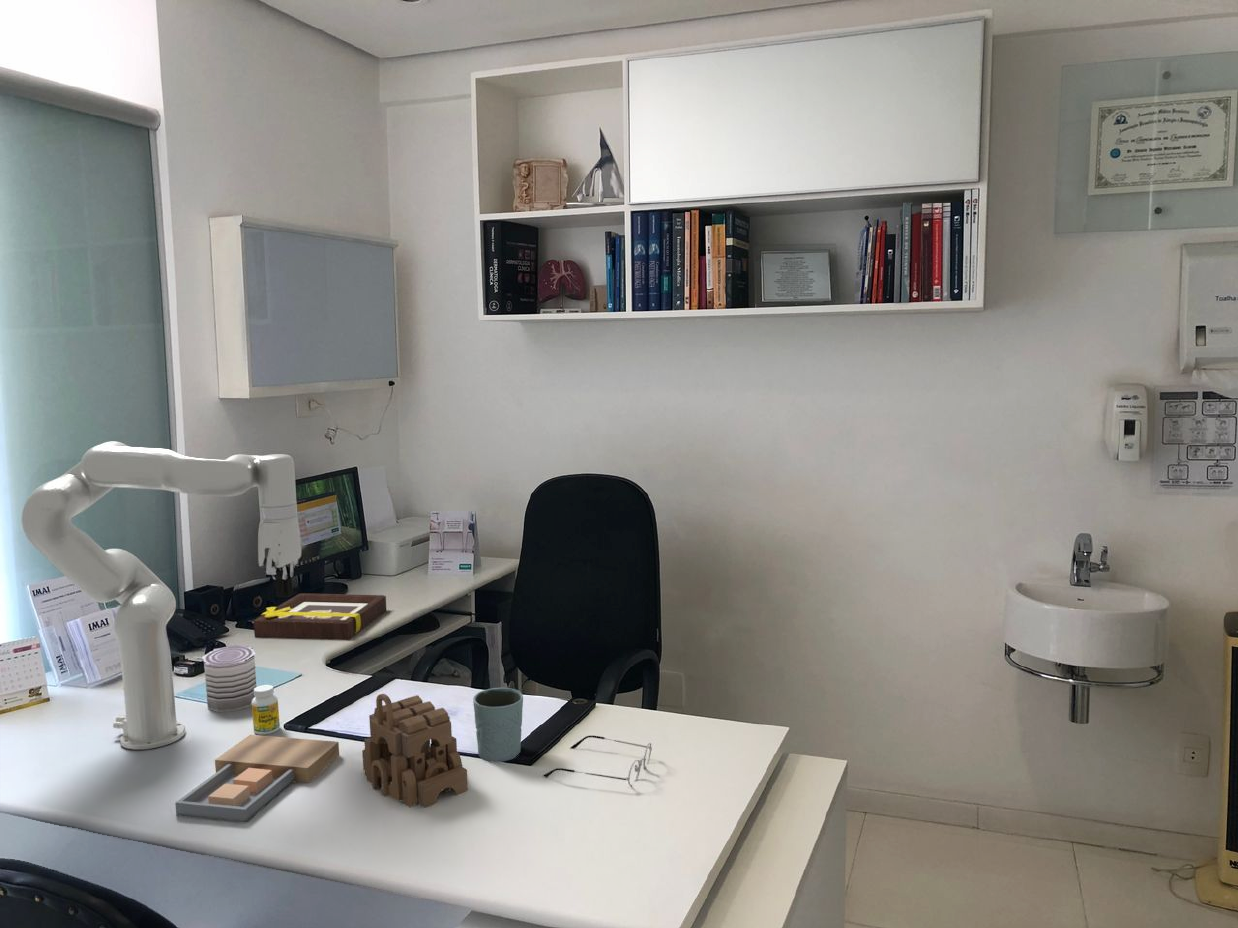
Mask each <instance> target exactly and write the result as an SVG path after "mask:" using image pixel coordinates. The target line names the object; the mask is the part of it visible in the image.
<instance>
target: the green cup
mask: <svg viewBox="0 0 1238 928" xmlns="http://www.w3.org/2000/svg"><path fill="white" fill-rule="evenodd" d="M472 699H473V709H474V711H473V712H474V724H475V729H476V731H475V733H476V741H477V753H478V756H479V758H480V759H481V760H484V761H487V762H491V763H492V762H493V763H496V762H498V763H499V762H507V761H510V760H513V759H515V758H517V757H518V756H519V755H520V754H519V753H521V745H522V743H521V742H522V725H523V706H524V704H523V703H524V695H523V693H522V692H521V691H520V690H518V689H515V688H509V687H493V688H488V689H484V690H482V691H479V692H477V693H476V694H474V696H473V698H472ZM518 754H519V755H518ZM517 755H518V756H517ZM516 756H517V757H516Z"/></svg>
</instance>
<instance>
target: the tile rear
mask: <svg viewBox="0 0 1238 928" xmlns="http://www.w3.org/2000/svg"><path fill="white" fill-rule="evenodd" d="M272 781H273V777H272V770H266V769H256V768H248V769H247V770H245V771H244V772H242V773H241V774H240V775H238V776H237V777H236V778H234V779H233V784H235V785H245V786H249V792H252V793H258V792H259V791H261V790H262V789H263V788H264V787H266V786H267V785H268V784H270V783H271V782H272Z"/></svg>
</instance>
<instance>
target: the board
mask: <svg viewBox="0 0 1238 928" xmlns="http://www.w3.org/2000/svg"><path fill="white" fill-rule="evenodd" d="M339 757H340V744H339V741H334V740H321V739H311V738H310V739H307V738H297V737H296V738H295V737H283V736H281V737H280V736H271V735H260V734H257V735H256V734H249V735H247V736H246V737H245V738H243V740H241V741H239V742H238V743H236V744H235V745H234V746H232V747H231V748H229V749H227V751H225V752H224V753H222V754H221V755H219V756H218V757H217V758H215V759H214V765H215V766H214V767H215V773H216V772H218V771H219V770H221V769H222V768H223V767H225V766H226V765H227V764H232V766H233V774H241V773H242V772H244V771H245V770H247V769H248V768H256V769H266V770H272V777H277V778H280V777H281V776H282V775H283V774H284V773H286V772H287V771H288V770H289V769H294V780H295V782H294V783H297V782H298V783H306V784H309V783H310V782H311V781H313V780H314V779H315V778H316V777H317V776H319V774H321V773H322V772H323V771H324V770H325V769H326V768H327V767H328V766H329V765H331V764H332V763H333V762H334V761H335V760H336V759H338V758H339Z"/></svg>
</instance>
